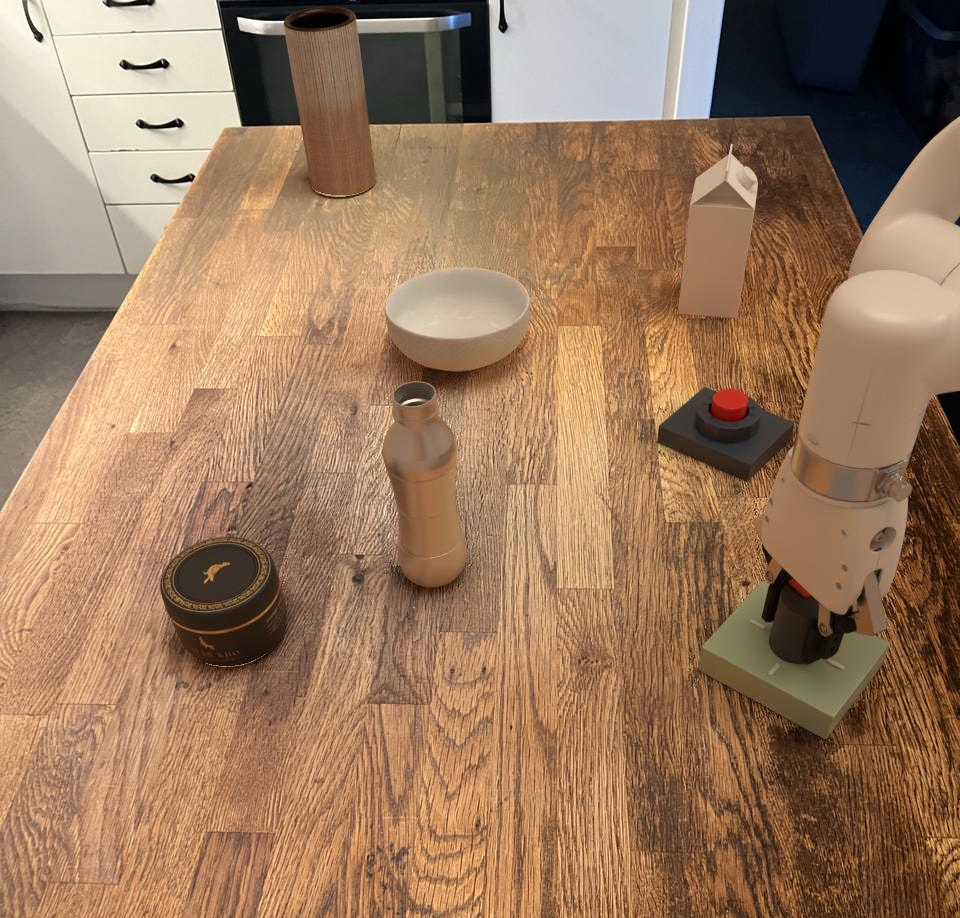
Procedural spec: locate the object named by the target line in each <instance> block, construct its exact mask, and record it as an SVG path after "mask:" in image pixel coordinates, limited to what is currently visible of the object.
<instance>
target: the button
mask: <svg viewBox="0 0 960 918" xmlns="http://www.w3.org/2000/svg"><path fill="white" fill-rule="evenodd" d="M747 396H748V395H747V394H746V393H744V392H743V391H741V390H738V389H735V388H724V389H721V390H717V391H716V393H715V394H714V396H713V400H712V407H711V414H712V416H713V417H714V418H717V419H719V420H721V421H727V422H735V421H739V420H742V419H744V418H745V416H746V412H747V406H748V397H749V396H748V397H747Z"/></svg>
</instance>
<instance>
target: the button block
mask: <svg viewBox="0 0 960 918" xmlns="http://www.w3.org/2000/svg"><path fill="white" fill-rule="evenodd" d="M716 392H717V390H713V389H711V388H709V387H706V386H703V387H702V388H701V389H699V391H698V392H696V393H695V394H694V395H693V396H692V397H691V398H689V399H688V400H687V401H686V402H684V404H682V405H681V406H680V407H679V408H677V410H675V411H674V412H673V413H672V414H671V415H670V416H669V417H667V418H666V419H665V420H663V422H661V423H660V424H659V425H658V427H657V428H658V429H657V437H656V439H657V440H656V443H657V444H660V445H662V446H664V447H666V448H669V449H671V450H673V451H676V452H679V453H681V454H682V455H685V456H687V457H689V458H691V459H694V460H696V461H698V462H700V463H703V464H705V465H707V466H710V467H713V468H715V469H717V470H719V471H722V472H724V473H726V474H728V475H731V476H733V477H735V478H738V479H740V480H742V481H744V482H746V483H747V482H749V481H750V480H751V479H752V478H753V477H754V476H755V475H756V474H757V473H758V472H759V471H760V470H761V469H762V468H763V467H765V465H767V463H768V462H769V461H770V460H771V459H772V458H773V457H774V456H775V455H776V454H777V453H778V452H779V451H781V450H782V448H783V447H785V446H786V445H787V444H788V443H789V441H790V440H791V439H792V436H793V432H794V426H795V422H794V421H792V420H789V419H787V418H785V417H782V416H780V415H778V414H774V413H772V412H769V411H767V410H764V409H762V407H761V406H760V405H759V404H758V402H756V401H755V399H753V398H752V397H750V396H748V395H746V396H747V397H748V406H747V412H746V416H745V418H744V419H742V420H739V421H735V422H727V421H721V420H719V419H717V418H714V417H713V416H712V414H711V407H712V400H713V396H714V394H715V393H716Z"/></svg>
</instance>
